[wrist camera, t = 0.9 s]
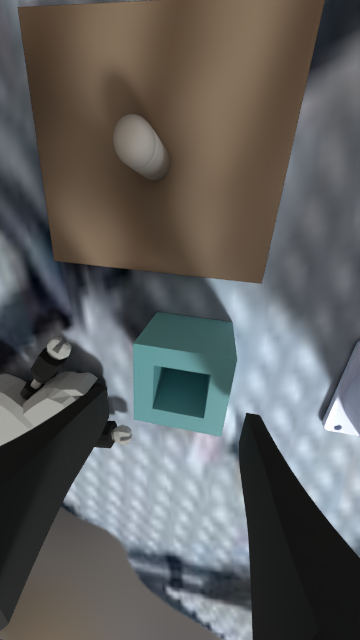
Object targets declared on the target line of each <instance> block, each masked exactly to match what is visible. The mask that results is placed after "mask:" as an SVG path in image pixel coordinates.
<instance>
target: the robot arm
mask: <svg viewBox="0 0 360 640" xmlns="http://www.w3.org/2000/svg"><path fill="white" fill-rule="evenodd" d="M108 418H109V409H108V394H107V388H105V387H99V386H96V387H94V388H93V389H91V390H90V391H88V392H87V393H85V394H84V395H83V396H81V397H80V398H78V399H77V400H76V401H74V402H73V403H71V404H70V405H68V406H67V407H65V408H64V409H63V410H61V411H60V412H58V413H57V414H55V415H53V416H52V417H50V418H49V419H47V420H46V421H44V422H42V423H41V424H39V425H38V426H36V427H34V428H33V429H31V430H29V431H27V432H26V433H24V434H22V435H20V436H18V437H17V438H15V439H13V440H11V441H9V442H7V443H5V444H3V445H1V446H0V631H1V630H2V629H3V628H4V627H5V626H7V625H8V623H9V621H10V619H11V617H12V614H13V612H14V609H15V607H16V604H17V602H18V600H19V597H20V595H21V593H22V590H23V588H24V585H25V583H26V581H27V579H28V576H29V574H30V572H31V569H32V567H33V565H34V562H35V560H36V558H37V556H38V554H39V551H40V549H41V547H42V545H43V542H44V540H45V538H46V536H47V534H48V532H49V530H50V527H51V525H52V523H53V521H54V519H55V517H56V515H57V512H58V511H59V509H60V507H61V505H62V503H63V500H64V498H65V496H66V494H67V492H68V490H69V489H70V487H71V485H72V483H73V481H74V480H75V478H76V476H77V475H78V473H79V471H80V470H81V468H82V466H83V465H84V463H85V461H86V460H87V458H88V456H89V455H90V453H91V451H92V450H93V448H94V446H95V445H96V443H97V441H98V439H99V438H100V436H101V434H102V432H103V430H104V427H105V425H106V423H107V421H108ZM322 425H323V427H324V428H325V429H326V430H329V431H334V432H340V433H345V434H351V435H356V436H360V341H358V342H357V344H356V346H355V348H354V350H353V353H352V355H351V357H350V360H349V362H348V364H347V366H346V369H345V371H344V373H343V375H342V378H341V380H340V382H339V384H338V387H337V389H336V391H335V394H334V396H333V398H332V400H331V403H330V405H329V407H328V409H327V412H326V414H325V416H324V419H323V421H322ZM336 425H337V426H336ZM239 464H240V473H241V480H242V488H243V496H244V503H245V511H246V518H247V527H248V539H249V557H250V578H251V601H252V631H253V640H360V558H359V557H358V556H357V554H356V553H355V552H354V551H353V550H352V549H351V547H350V546H349V545H348V544H347V543H346V541H345V540H344V539H343V538H342V537H341V536H340V534H339V533H338V532H337V531H336V530H335V529H334V527H333V526H332V525H331V524H330V522H329V521H328V520H327V519H326V517H325V516H324V515H323V514H322V512H321V511H320V510H319V508H318V507H317V506H316V504H315V503H314V502H313V500H312V499H311V498H310V496H309V495H308V494H307V492H306V491H305V489H304V488H303V487H302V485H301V484H300V482H299V481H298V479H297V478H296V476H295V475H294V473H293V472H292V470H291V469H290V467H289V466H288V464H287V462H286V461H285V459H284V457H283V456H282V454H281V453H280V451H279V449H278V448H277V446H276V444H275V442H274V441H273V439H272V437H271V435H270V433H269V432H268V430H267V428H266V426H265V424H264V422H263V420H262V418H261V417H260V415H256V414H250V413H246V417H245V420H244V424H243V428H242V432H241V436H240V440H239ZM0 640H2V639H0Z"/></svg>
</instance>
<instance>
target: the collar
mask: <svg viewBox="0 0 360 640" xmlns="http://www.w3.org/2000/svg"><path fill="white" fill-rule="evenodd" d="M236 363H237V354H236V346H235V338H234V330H233V322H228V321H220V320H213V319H205V318H198V317H190V316H183V315H175V314H168V313H160V312H157V313H156V314H155V315H154V317H153V318H152V319H151V321H150V322H149V323H148V325H147V326H146V327H145V329H144V330H143V331H142V333H141V334H140V335H139V337H138V338H137V339H136V340H135V342H134V343H133V379H134V420H139V421H144V422H149V423H154V424H159V425H164V426H169V427H174V428H180V429H185V430H190V431H195V432H200V433H205V434H210V435H215V436H220V437H221V435H222V430H223V426H224V421H225V416H226V411H227V406H228V401H229V396H230V392H231V387H232V382H233V377H234V372H235V367H236Z"/></svg>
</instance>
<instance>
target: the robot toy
mask: <svg viewBox="0 0 360 640" xmlns="http://www.w3.org/2000/svg"><path fill="white" fill-rule="evenodd" d="M62 340H63V339H62V338H61V337H53V338H52V339H51V340H50V341H49V342H48V344H47V348H45V349H43V351H42V352H41V353H40V355H39V356H38V358H37V359H36V361H35V363H34V364H33V366H32V368H31V372H32V375H33V377H34V378H33V379H31V380H29V381H28V382H27V383H26V382H25V381H23V380H22V379H20V378H18V377H15V376H12V375H9V374H6V373H5V374H1V375H0V446H1V445H3V444H5V443H7V442H9V441H11V440H13V439H15V438H17V437H18V436H20V435H22V434H24V433H26V432H27V431H29V430H31V429H33V428H34V427H36V426H38V425H39V424H41V423H42V422H44V421H46V420H47V419H49V418H50V417H52V416H53V415H55V414H57V413H58V412H60V411H61V410H63V409H64V408H65V407H67V406H68V405H70V404H71V403H73V402H74V401H76V400H77V399H78V398H80V397H81V396H83V395H84V394H85V393H87V392H88V391H90V390H91V389H93V388H94V387H96V386H99V387H105V386H104V385H103V384H102V383H100V382H95V381H96V380H97V379H98V378H97V377H96V376H94V375H92V374H91V373H76V372H72V371H69V372H62V373H60V374H58V375H57V373H58V372H59V370H60V369H61V367H62V366H63V364H64V363H65V361H66V359H67V358H68V356H69V354H70V351H71V347H72V346H71V345H70V343H68V342H67V341H66V343H64V344H63V346H61V345H60V343H61V341H62ZM56 375H57V376H56ZM53 377H54V378H53ZM51 378H52V379H51ZM50 379H51V380H50ZM48 380H49V381H48ZM45 381H48V382H47V383H46V384H44V383H43V382H45ZM131 440H132V435H131V429H130V428H129V427H128V426H124V425H121V426H118V427H117V424H116V422H115V421H107V423H106V425H105V427H104V430H103V432H102V434H101V436H100V438H99V439H98V441H97V443H96V445H95V446H94V447H100V448H111V447H112V445H113V444H114V442H117V443H119V444H121V445H124V444H128V443H129V442H130V441H131Z"/></svg>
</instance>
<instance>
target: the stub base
mask: <svg viewBox="0 0 360 640" xmlns="http://www.w3.org/2000/svg"><path fill="white" fill-rule="evenodd" d="M324 1H325V0H153V1H133V2H113V3H92V4H72V5H52V6H32V7H18V13H19V20H20V27H21V34H22V41H23V48H24V55H25V62H26V69H27V76H28V82H29V89H30V96H31V103H32V110H33V117H34V124H35V131H36V138H37V145H38V151H39V158H40V165H41V172H42V179H43V186H44V193H45V200H46V207H47V214H48V221H49V227H50V234H51V241H52V248H53V255H54V261H60V262H69V263H78V264H88V265H97V266H106V267H115V268H124V269H133V270H142V271H151V272H161V273H170V274H179V275H188V276H197V277H206V278H215V279H225V280H234V281H243V282H252V283H261V284H262V280H263V276H264V271H265V267H266V262H267V258H268V253H269V249H270V244H271V240H272V235H273V231H274V226H275V222H276V217H277V213H278V208H279V204H280V199H281V195H282V190H283V186H284V181H285V177H286V172H287V168H288V163H289V159H290V154H291V150H292V145H293V141H294V136H295V132H296V127H297V123H298V118H299V114H300V109H301V105H302V100H303V96H304V91H305V87H306V82H307V78H308V73H309V69H310V64H311V60H312V55H313V51H314V46H315V42H316V37H317V33H318V28H319V24H320V19H321V15H322V10H323V6H324Z"/></svg>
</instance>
